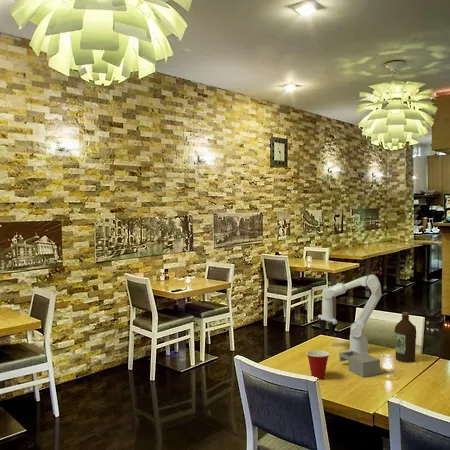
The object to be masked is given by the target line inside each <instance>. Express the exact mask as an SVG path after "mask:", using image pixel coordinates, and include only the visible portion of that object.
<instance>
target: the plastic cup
mask: <svg viewBox="0 0 450 450" xmlns="http://www.w3.org/2000/svg"><path fill="white" fill-rule="evenodd" d="M305 354H306V356H307V360H308V363H309V364H308V365H309V369H310V373H311V377H312V376H314V377H317V378H319V380H321V381H322V380H323V379H325V375H326V370H327V364H328V358H329V356H330V352H328V351H326V350H320V349H319V350H313V349H312V350H308V351H306V353H305ZM319 380H318V381H319Z"/></svg>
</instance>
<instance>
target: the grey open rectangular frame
mask: <svg viewBox="0 0 450 450" xmlns="http://www.w3.org/2000/svg"><path fill="white" fill-rule="evenodd" d="M338 357H339V358H338V360H339V362H344V361H348V372H349V371H350V372H351V373H353V374H355V375H357V376H358V377H359V376H360V377H362V378H368V377H372V376H376V375H377V376H378V375H380V374H381V360H380V358H377V357H376V356H373V355H370V354H369V353H364V354H359V353H357V352H355V351H342V352H339V353H338Z"/></svg>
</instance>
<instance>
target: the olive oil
mask: <svg viewBox="0 0 450 450" xmlns="http://www.w3.org/2000/svg"><path fill="white" fill-rule="evenodd" d="M401 313H402V314H401V320H399V322H397V323H396V324H395V327H394V332H393V333H394V347H395V349H394V351H395V360H396V361H398V362H401V363H406V362H407V364H408V363H409V362H411V363H414V362H415V361H416V344H417V329H416V326H415V325H414V323H412V322H411V321H410V315H409V314H410V313H409V312H407V311H402V312H401ZM409 364H410V363H409Z"/></svg>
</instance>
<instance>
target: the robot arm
mask: <svg viewBox="0 0 450 450" xmlns="http://www.w3.org/2000/svg"><path fill="white" fill-rule="evenodd" d="M359 286H362V287H368V289H369V290H370V293H371V295H370V297H369V299H368V300H367V301H366V303H365V305H364V306H363V308H362V310H361V312H360V314H359V315H358V318H356V320H355V321H354V322H353V323H351V324H350V332H349V333H350V334H349V349H346V351H345V352H347V351H355V352H357V353H359V354H364V353H366V354H369V341H368V337H367V336H365V335H364V334H363V330H364V328H365V326H366V324H367V322H368V320H369V318H370V317H371V315H372V313H373V312H374V309H375V308H376V306H377V305H378V303H379V301H380V299H381V297H382V294H383V293H382V286H381V282H380V280H379V278H378V276H376V275H375V274H369V275H364V276H362V277H358V278H357V279H354V280H351V281H349V282H347V283H342V282H337V283H336V284H335V285H331V286H330V285H329V286H328V287H325V288H323V290H322V292H321V297H322V299H321V300H322V301H321V314H318V315H317V318H318V319H317V321H316V322H318V325H319V328H320V331H321V333H326V329H327V326H328V331H329V332H328V334H329V337H332V336H334V335H335V331H336V328H337V327H338V324H339V323H338V320H337V319H335V318H334V317H333V315H334V314H333V308H334V307H333V306H334V305H333V297H337V296H340V295H343V294H345V293H346V292H347V290H350V289H352V288H353V289H354V288H356V287H359ZM327 322H328V323H327Z"/></svg>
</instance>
